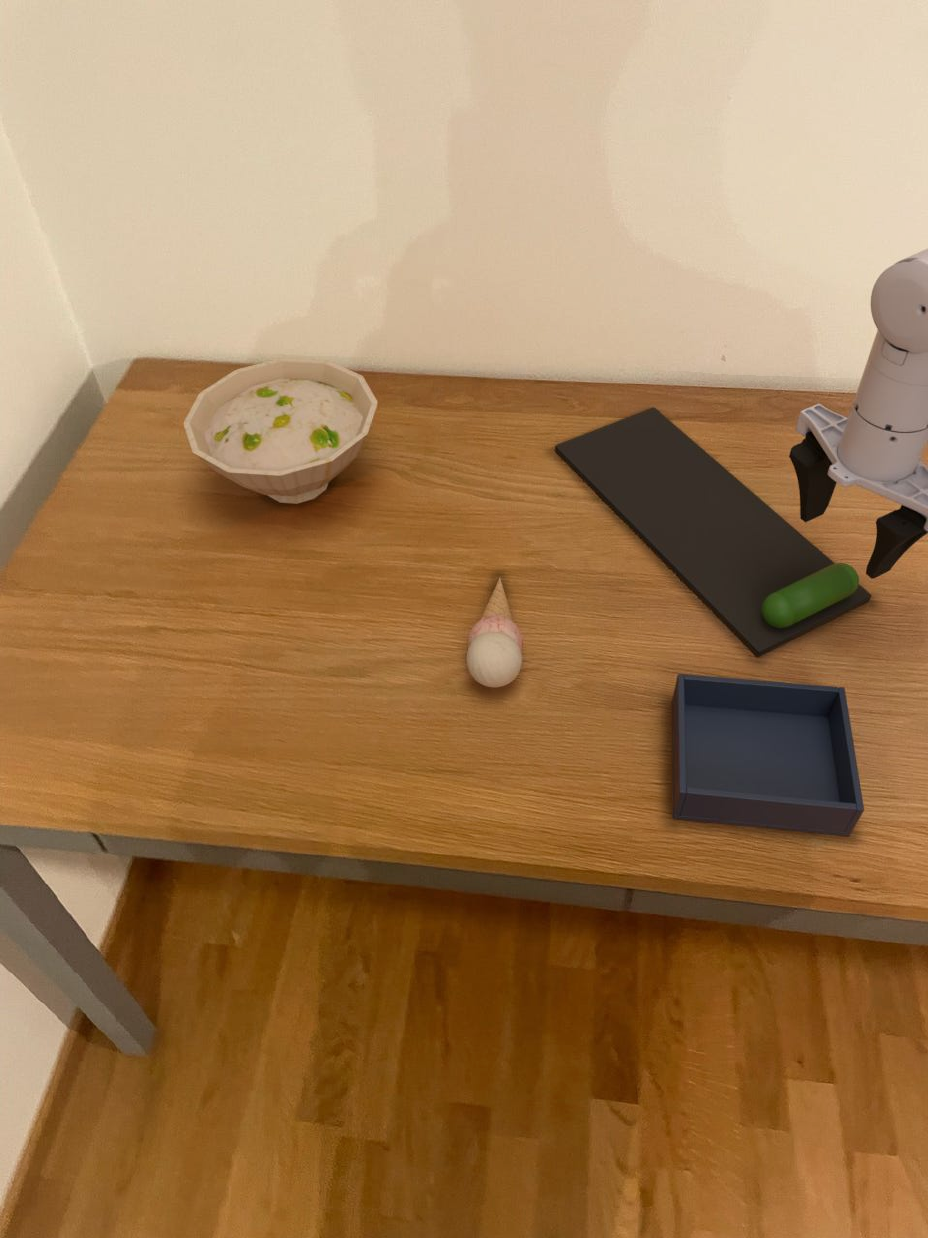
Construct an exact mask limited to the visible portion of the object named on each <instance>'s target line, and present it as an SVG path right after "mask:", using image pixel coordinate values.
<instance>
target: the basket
mask: <svg viewBox="0 0 928 1238" xmlns="http://www.w3.org/2000/svg"><path fill="white" fill-rule="evenodd" d="M850 719H851V718H850V712H849V706H848V701H847V695H846V688H845V687H843V686H831V685H820V684H806V683H794V682H783V681H772V680H759V679H749V678H748V679H747V678H736V677H735V678H734V677H723V676H710V675H699V674H689V673H688V674H687V673H685V674H684V673H677V675H676V681H675V684H674V690H673V694H672V698H671V772H672V773H671V779H672V780H671V782H672V784H671V786H672V787H671V788H672V791H671V792H672V819H674V820H683V821H693V822H703V823H712V824H713V823H714V824H722V825H723V824H724V825H731V826H742V827H750V828H751V827H752V828H763V829H772V830H781V831H782V830H783V831H790V832H791V831H792V832H799V833H800V832H802V833H812V834H821V835H830V836H831V835H832V836H839V837H850V836H851V834H852V832H853V830H854V829H855V827H856V826H857V823H858V822H859V820H860V818H861V816H862V815H863V813H864V812H865V806H864V800H863V793H862V787H861V781H860V776H859V768H858V763H857V755H856V749H855V743H854V737H853V732H852V731H853V730H852V726H851V720H850Z"/></svg>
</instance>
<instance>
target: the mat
mask: <svg viewBox="0 0 928 1238" xmlns="http://www.w3.org/2000/svg"><path fill="white" fill-rule="evenodd" d="M554 452H555V453H556V454H557V455H558V456H559V457H560V458H561V459H562V460H563V461H564V462H565V463H566V464H567V465H568V466H569V467H570V468H571V469H572V470H573V471H574V473H576V474H577V476H578V477H579V478H581V480H583V481H584V482H585V483H586V484H587V486H588V487H590V489H591V490H592V491H593V492H594V493H595V494H596V495H597V496H598V497H599V498H600V499H601V500H602V501H603V502H604V503H605V504H606V505H607V506H608V507H609V508H610V509H611V510H612V511H613V512H614V513H615V514H616V515H617V516H618V517H619V519H621V520H622V521H623V522H624V523H625V524H626V525H627V526H628V527H629V528H630V529H631V530H632V531H633V532H634V533H635V534H636V536H637V537H639V538H640V540H642V541H643V542H644V543H645V545H646V546H648V548H649V549H650V550H651V551H652V552H653V553H654V554H655V555H656V556H657V557H658V558H659V559H660V560H661V561H662V562H663V563H664V564H665V565H666V566H667V567H668V568H669V570H671V571H672V572H673V573H674V574H675V575H676V576H677V578H679V580H681V582H683V583H684V584H685V585H686V587H688V588H689V589H690V590H691V591H692V592H693V593H694V594H695V596H697V597H698V598H699V599H700V601H701V602H702V603H704V605H706V607H707V608H708V609H709V610H710V611H711V612H712V613H713V614H714V615H715V616H716V617H717V618H718V619H719V620H720V621H721V622H722V623H723V625H725V626H726V628H727V629H729V630H730V631H731V632H732V633H733V634H734V635H735V636H736V638H738V639H739V641H740V642H742V644H744V646H746V647H747V648H748V650H749V651H751V652H752V654H753V655H755V656H756V658H759V657H761V656H763V655H765V654H767V653H769V652H770V651H773V650H775V649H776V648H778V647H781V646H782V645H785V644H787V643H788V642H790V641H792V640H795V639H797V638H798V637H801V636H803V635H804V634H807V633H809V632H810V631H812V630H815V629H816V628H818V627H820V626H822V625H824V624H826V623H829V622H831V621H833V620H834V619H836V618H838V617H840V616H842V615H845V614H846V613H848V612H850V611H852V610H854V609H856V608H858V607H860V606H862V605H864V604H866V603H868V602H870V600H871V598H872V594H871V593H870V592H869V591H868V590H866V589H865V588H864V586H862V585H861V584H859V585H858V588H857V589H856V591H855V592H854V593H853V594H852V595H850V596H849V597H847V598H845V599H843V600H841V601H839V602H837V603H835V604H833V605H831V606H829V607H827V608H825V609H823V610H821V611H819V612H817V613H815V614H813V615H811V616H809V617H807V618H805V619H803V620H801V621H799V622H797V623H795V624H793V625H791V626H788V627H785V628H776V627H773V626H771V625H769V624H768V623H767V622H766V621H765V620H764V618H763V616H762V612H761V607H762V603H763V602H764V600H765V599H766V598H767V597H768V596H769V595H770V594H772V593H774V592H776V591H778V590H780V589H782V588H784V587H786V586H789V585H791V584H793V583H795V582H797V581H799V580H801V579H803V578H805V577H807V576H809V575H811V574H813V573H815V572H818V571H820V570H822V569H824V568H826V567H828V566H830V565H832V564H835V563H836V562H834V561H833V560H832V559H830V558H829V557H828V556H827V555H826V554H825V553H824V552H822V551H821V550H820V549H819V548H817V546H816V545H814V543H812V542H811V541H810V540H809V539H807V538H806V537H805V536H804V535H803V534H801V532H800V531H798V530H797V529H796V528H795V527H794V526H792V525H791V524H790V523H789V522H788V521H786V520H785V518H783V517H782V516H781V515H780V514H779V513H777V512H776V511H775V510H774V509H773V508H771V506H769V505H768V504H767V503H766V502H764V501H763V500H762V499H761V498H760V497H759V496H758V495H756V494H755V493H754V492H753V491H752V490H751V489H750V488H749V487H747V486H746V485H745V484H744V483H743V482H742V481H740V480H739V479H738V478H737V477H736V476H734V474H732V473H731V472H730V471H729V470H728V469H726V468H725V467H724V466H723V465H722V464H721V463H720V462H719V461H717V460H716V459H715V458H713V456H711V455H710V454H709V453H708V452H706V450H704V449H703V448H702V447H701V446H700V445H699V444H698V443H697V442H695V441H694V440H693V439H691V437H689V436H688V435H687V434H686V433H685V432H684V431H682V430H681V428H679V427H678V426H677V425H676V424H674V423H673V422H672V421H671V420H670V419H669V418H667V416H665V415H664V414H663V413H662V412H660V411H659V410H658V409H657V408H656V407H654V406H653V407H650V408H648V409H644V410H643V411H639V412H637V413H635V414H633V415H630V416H627V417H625V418H622V419H619V420H617V421H615V422H614V421H613V422H612V423H609V424H606V425H604V426H602V427H599V428H596V429H594V430H591V431H589V432H586V433H584V434H581V435H579V436H576V437H573V438H571V439H568V440H565V441H564V442H560V443H558V444H556V445H555V446H554Z"/></svg>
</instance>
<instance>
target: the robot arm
mask: <svg viewBox="0 0 928 1238" xmlns="http://www.w3.org/2000/svg"><path fill="white" fill-rule="evenodd" d="M870 312H871V318H872V320H873V323H874V325H875V328H876V329H877V330H876V334H875V336H874V339H873V342H872V346H871V347H870V351H869V354H868V358H867V361H866V363H865V367H864V370H863V372H862V374H861V375H862V376H861V379H860V381H859V385H858V387H857V390H856V392H855V396H854V399H853V401H852V405H851V408H850V412H849V414H848V417H846V416H844V415H841V414H839V413H837V412H835V411H832V410H831V409H829V408H828V407H825V406H824V405H822V404H821V403H817V404H815V405H812V406H809V407H807V408H805V409H802V410H800V412H799V416H798V419H797V422H796V426H795V432H797V433H798V434H800V435H801V436H803V437H804V438H802V441H801V442H799V443H797V444H795V445H793V446H792V447H791V448H790V451H789V455H788V457H789V459H790V462H791V463H792V465H793V468H794V471H795V475H796V479H797V483H798V492H799V516H800V520H802V521H803V522H804V523H805V524H806V523H808V522H810V521H812V520H814V519H816V518H819V517H820V516H822V515H824V514H825V512H826V510H827V508H828V507H829V505H830V502H831V500H832V498H833V494H834V491H835V488H836V486H837V484H838V485H839V486H841V487H843V488H849V487H852V486H854V485H855V486H857V487H860V488H862V489H865V490H867V491H869V492H872V493H874V494H876V495H878V496H880V497H883V498H885V499H888V500H890V501H892V502H894V503H897V504H899V505H900V507H899V508H898V509H894V510H893V511H890V512H888V513H886V514H884V515H882V516H880V517H878V518H877V519H876V521H875V525H876V526H875V527H876V537H875V543H874V548H873V551H872V553H871V555H870V559H869V560H868V563H867V565H866V568H865V569H866V570H865V575H866V576H868V577H869V578H870V579H872V580H874V579H876V578H879V577H880V576H882V575H884V574H886V573H888V572H890V571H891V569H892V568H893V567H894V565H895V564H896V563H897V562H898V561H899V560H900V558H901V557H902V556H903V555H904V554H905V553H906V552H907V551H908V550H909V549H910V548H911V547H912V546H914V544H916V543H917V542H918V541H919V540H921V539H922V538H923V537H924V536H926V535H928V467H927V466H926V464H925V463H924V462H923V460H922V459H921V457H922V454H923V452H924V450H925V448H926V445H927V443H928V248H925V249H923V250H921V251H919V252H916V253H913V254H911V255H910V256H907V257H905V258H902V259H901V260H898V261H897V262H895V263H893V264H892V265H891V266H889V267H887V268H885V269H884V270H883V271H882V272H881V273H880V274H879V276H878V277H877V279H876V280H875V282H874V285H873V287H872V290H871V295H870Z"/></svg>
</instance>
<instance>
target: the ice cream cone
mask: <svg viewBox="0 0 928 1238" xmlns="http://www.w3.org/2000/svg"><path fill="white" fill-rule="evenodd" d="M467 644H468V645H467V646H468V649H467V652H466V657H465V658H466V665H467V666H466V667H467V671H468V672H469V674H470V675H471V677H472V678H473V679H474V680H475V682H476V683H478V684H480V685H481V686H485V687H488V688H502V687H505V686H507V685H509V684H510V683H512V682H513V681H514V680H515V679H516V678H517V677H518V676H519V673H520V672H521V669H522V666H523V655H522V651H523V645H524V641H523V636H522V632H521V630H520V628H519V627H518V625H517V624H516V623H515V622H514V620H513V617H512V613H511V610H510V607H509V603H508V599H507V596H506V593H505V589H504V586H503V582H502V579H501V577H499V578H498V580H497V583H496V586H495V587H494V589H493V592H492V594H491V596H490V598H489V601H488V603H487V605H486V607H485V609H484V611H483V614H482V615H481V618H480V619H479V620H478V621H477V622H476V623H474V625H473V626H472V628H471V630H470V632H469V635H468V639H467Z"/></svg>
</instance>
